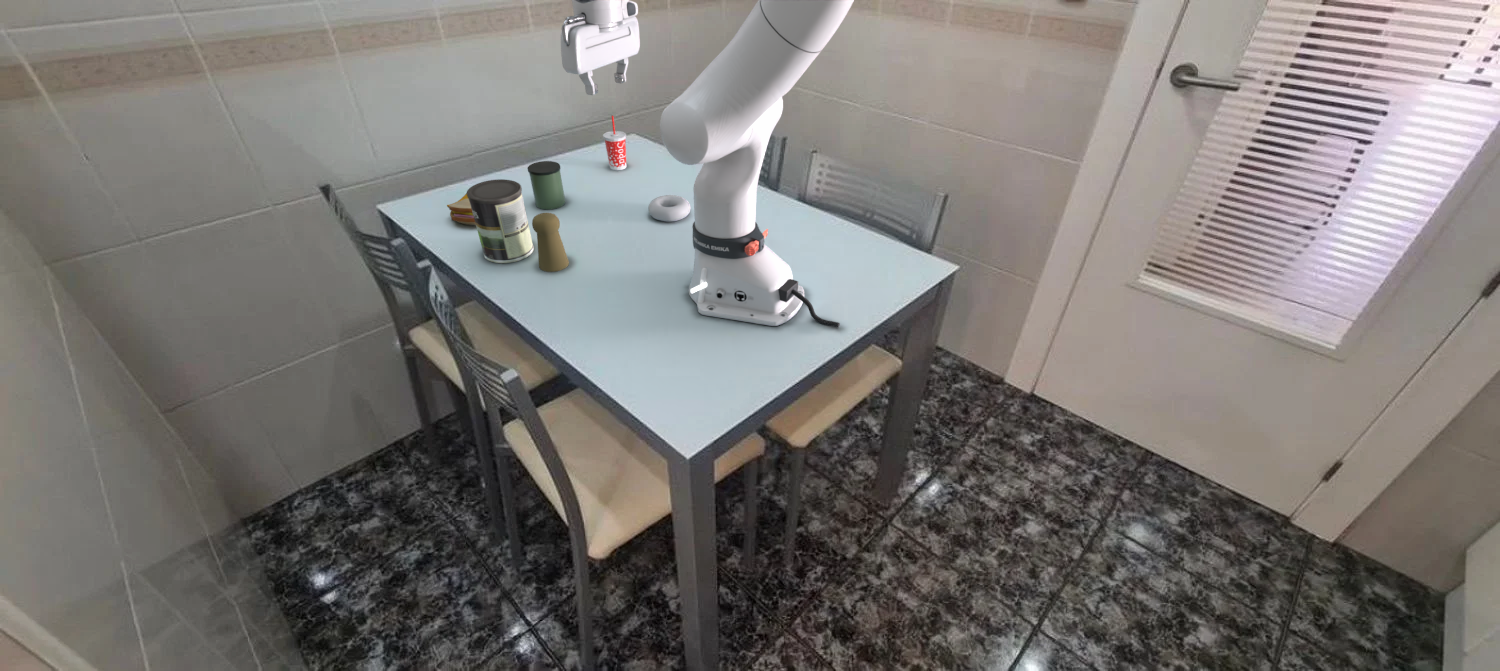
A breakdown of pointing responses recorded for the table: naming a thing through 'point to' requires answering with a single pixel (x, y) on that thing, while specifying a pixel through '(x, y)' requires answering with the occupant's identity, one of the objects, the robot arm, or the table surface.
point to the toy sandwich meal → (462, 211)
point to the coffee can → (501, 220)
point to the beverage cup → (616, 148)
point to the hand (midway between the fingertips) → (606, 88)
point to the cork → (549, 243)
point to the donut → (669, 208)
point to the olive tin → (547, 184)
